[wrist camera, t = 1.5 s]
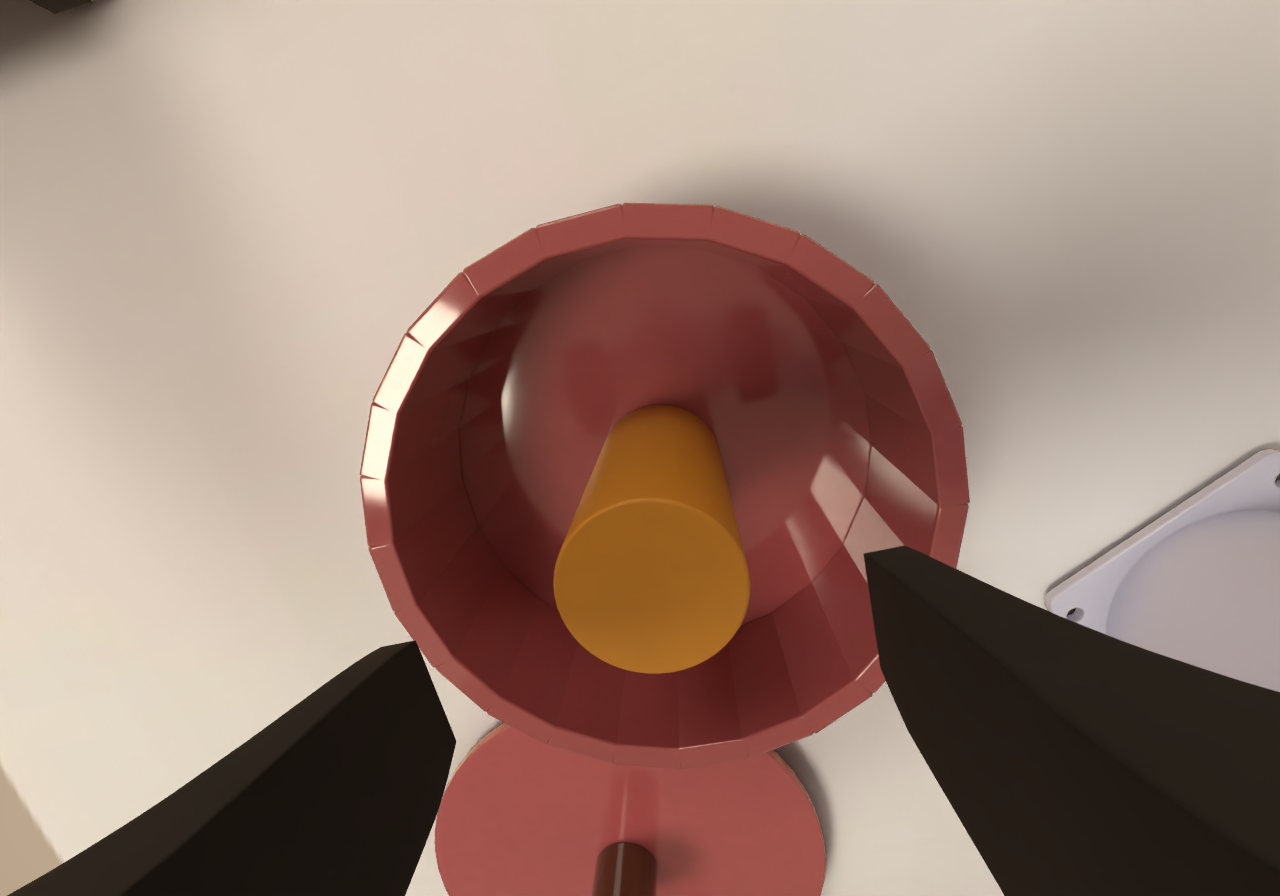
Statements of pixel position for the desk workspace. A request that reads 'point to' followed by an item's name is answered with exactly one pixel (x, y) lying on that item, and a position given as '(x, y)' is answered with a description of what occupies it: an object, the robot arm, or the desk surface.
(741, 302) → the pot
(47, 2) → the figurine
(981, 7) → the desk surface
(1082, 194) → the desk surface
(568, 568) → the candle
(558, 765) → the lid
